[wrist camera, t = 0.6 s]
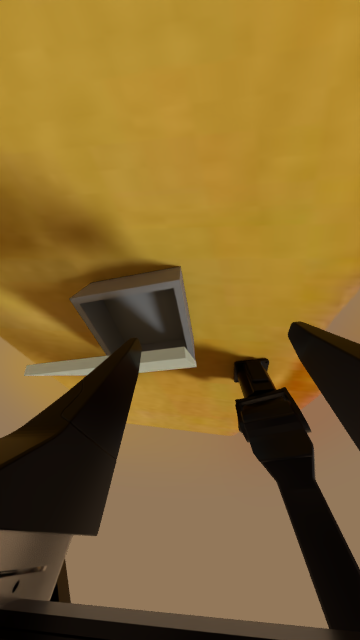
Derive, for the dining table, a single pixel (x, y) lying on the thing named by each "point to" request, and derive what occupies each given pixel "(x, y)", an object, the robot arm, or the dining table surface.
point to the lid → (148, 362)
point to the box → (138, 311)
